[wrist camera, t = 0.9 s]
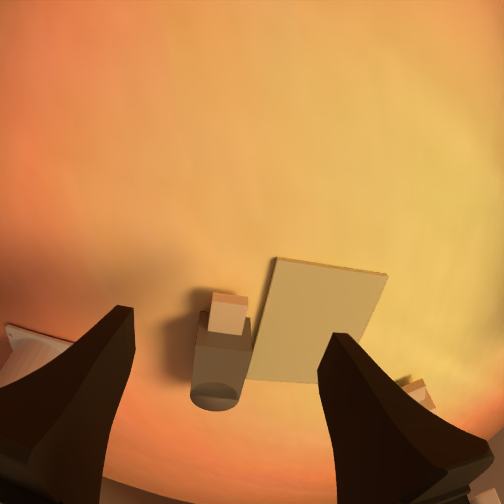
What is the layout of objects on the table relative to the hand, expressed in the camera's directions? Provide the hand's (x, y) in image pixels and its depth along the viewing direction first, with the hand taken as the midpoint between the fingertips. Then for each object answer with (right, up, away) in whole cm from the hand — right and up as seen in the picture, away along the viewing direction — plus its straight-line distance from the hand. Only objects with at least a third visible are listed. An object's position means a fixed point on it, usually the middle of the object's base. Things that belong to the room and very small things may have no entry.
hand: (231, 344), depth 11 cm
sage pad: (+5, -3, +12) cm, 13 cm away
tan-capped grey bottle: (-2, -3, +12) cm, 13 cm away
